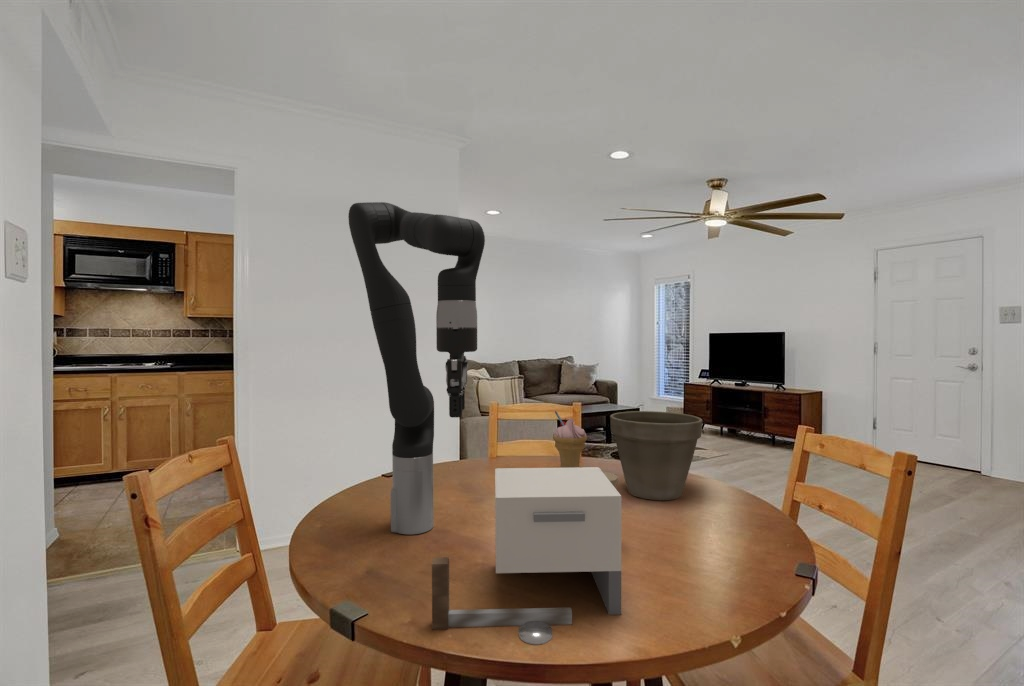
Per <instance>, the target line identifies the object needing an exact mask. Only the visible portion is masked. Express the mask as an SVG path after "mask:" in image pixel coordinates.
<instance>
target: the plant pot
mask: <svg viewBox="0 0 1024 686" xmlns="http://www.w3.org/2000/svg"><path fill="white" fill-rule="evenodd" d="M609 419H610V433H611V434H612V435H614V438H615V445H616V449H617V452H618V453H617V454H618V456H619V461H620V465H621V469H622V472H623V476H624V481H625V485H626V489H627V492H628V493H629V494H630V495H632V496H635V497H636V498H637V497H638V498H641V499H646V500H651V501H672V500H676V499H678V498H680V497H682V495H683V491H684V488H685V486H686V481H687V478H688V476H689V472H690V469H691V465H692V461H693V458H694V454H695V451H696V447H697V442H698V440H699V439H700V438H701V437H702V431H703V419H702V418H701V417H699V416H695V415H691V414H686V413H678V412H671V411H670V412H669V411H657V410H656V411H653V410H636V411H635V410H634V411H623V412H622V411H621V412H616V413H612V414H610V415H609Z"/></svg>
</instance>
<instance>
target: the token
mask: <svg viewBox="0 0 1024 686" xmlns="http://www.w3.org/2000/svg"><path fill="white" fill-rule="evenodd" d="M518 637H519V639H520V641H523V642H524V643H526V644H529V645H534V646H537V645H543V644H544V645H545V644H547V643H549V642H550V641H551V640H552V639H553V628H552V626H551V625H548V624H546V623H544V622H540V621H530V622H526V623H524V624H522V625H521V626H519V627H518Z"/></svg>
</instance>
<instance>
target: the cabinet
mask: <svg viewBox="0 0 1024 686" xmlns="http://www.w3.org/2000/svg"><path fill="white" fill-rule="evenodd" d="M603 472H604V471H602V469H601V468H600V467H599V466H598V467H597V466H595V467H594V466H592V467H591V466H590V467H587V466H586V467H583V466H582V467H580V466H579V467H574V468H561V467H512V468H511V467H510V468H509V467H507V468H504V467H503V468H502V467H499V468H498V467H497V468H495V471H494V473H495V474H494V476H495V477H494V479H495V480H494V481H495V484H494V485H495V487H494V488H495V492H494V493H495V494H494V496H495V500H494V501H495V503H494V504H495V506H494V507H495V508H494V509H495V513H494V515H495V516H494V519H495V525H494V526H495V534H494V535H495V574H521V573H523V574H524V573H528V574H529V573H537V574H538V573H579V572H580V573H581V572H589V573H590V572H591V574H592V577H593V579H594V582H595V584H596V587H597V589H598V591H599V594H600V597H601V599H602V601H603V603H604V605H605V608H606V611H607V614H608V615H612V616H615V615H622V495H621V494H620V492H619V491H618V490H617V488H616V486H613V485H612V483H611V482H610V481H609V480H608V478H607V477H606V476H605V474H604V473H603Z"/></svg>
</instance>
